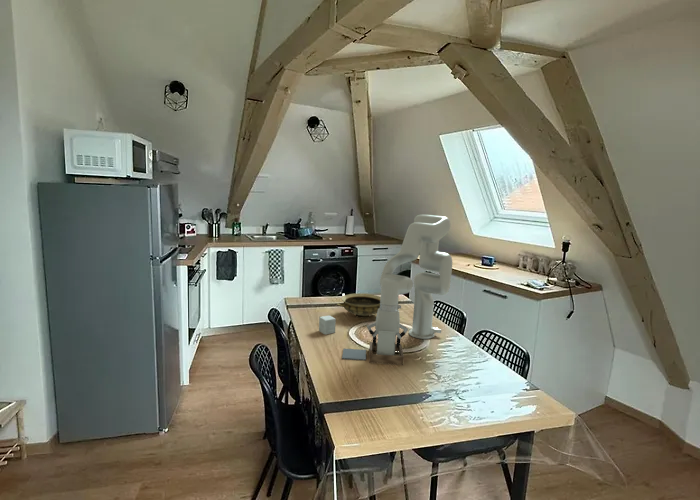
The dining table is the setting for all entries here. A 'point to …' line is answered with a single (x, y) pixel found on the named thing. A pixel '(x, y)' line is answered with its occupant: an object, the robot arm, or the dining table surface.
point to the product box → (327, 324)
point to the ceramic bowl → (361, 304)
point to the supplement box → (386, 343)
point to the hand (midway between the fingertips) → (386, 345)
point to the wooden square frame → (386, 356)
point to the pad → (354, 354)
